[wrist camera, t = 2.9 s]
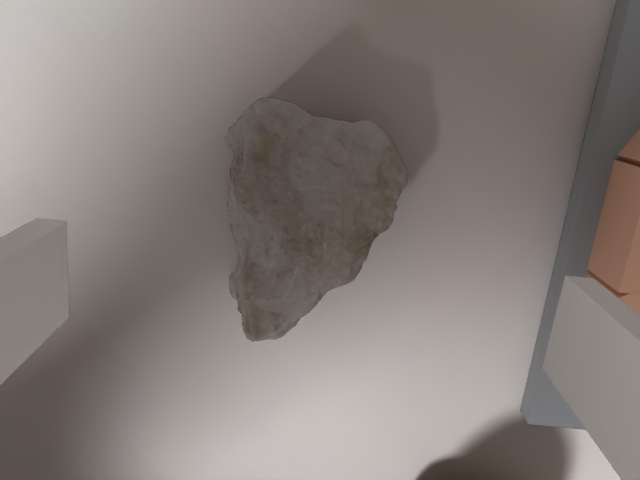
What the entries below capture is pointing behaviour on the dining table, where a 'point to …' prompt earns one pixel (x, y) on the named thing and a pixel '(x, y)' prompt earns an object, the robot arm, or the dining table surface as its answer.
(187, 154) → the dining table surface
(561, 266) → the socket
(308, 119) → the stone
